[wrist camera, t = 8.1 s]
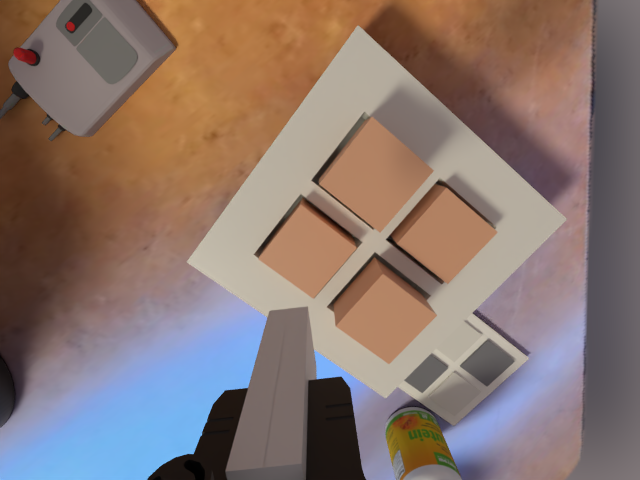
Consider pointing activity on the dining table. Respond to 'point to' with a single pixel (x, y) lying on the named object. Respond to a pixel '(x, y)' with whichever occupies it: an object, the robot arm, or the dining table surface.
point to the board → (303, 182)
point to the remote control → (87, 62)
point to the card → (463, 370)
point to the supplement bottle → (418, 447)
